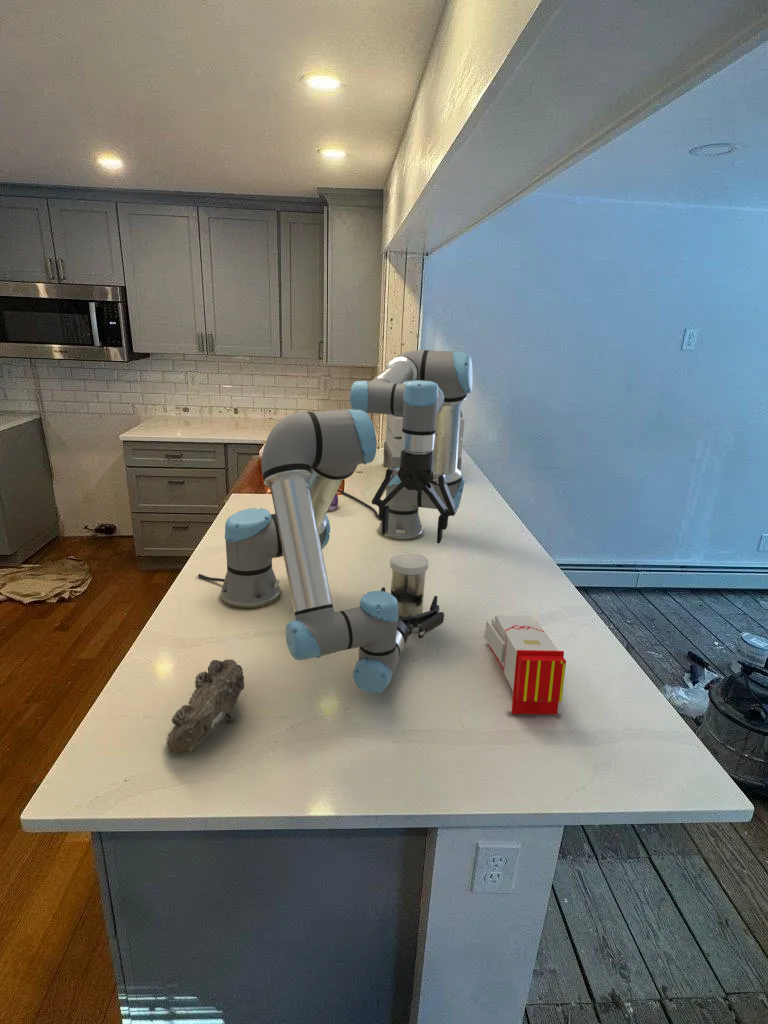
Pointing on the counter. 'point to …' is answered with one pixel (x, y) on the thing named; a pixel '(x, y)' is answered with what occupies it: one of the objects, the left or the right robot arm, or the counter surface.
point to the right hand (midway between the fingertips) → (411, 537)
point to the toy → (527, 663)
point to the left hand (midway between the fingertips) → (409, 596)
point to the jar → (408, 593)
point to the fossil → (206, 705)
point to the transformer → (395, 435)
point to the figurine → (333, 503)
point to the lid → (409, 563)
